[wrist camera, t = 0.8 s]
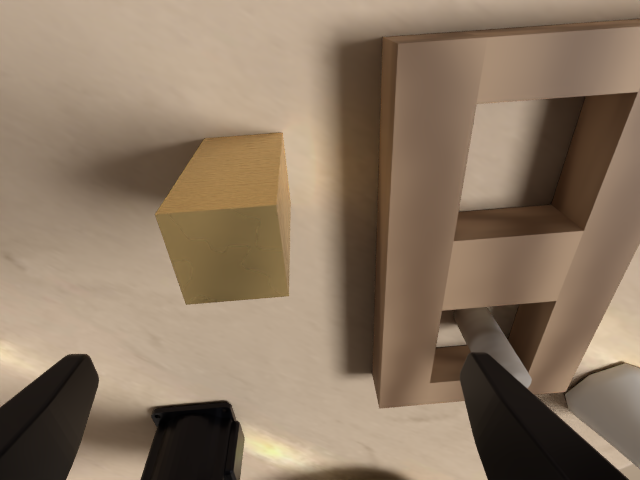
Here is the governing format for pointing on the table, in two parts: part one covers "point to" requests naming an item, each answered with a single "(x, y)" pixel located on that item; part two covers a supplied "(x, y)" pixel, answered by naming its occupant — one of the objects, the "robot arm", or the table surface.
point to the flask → (611, 407)
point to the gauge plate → (507, 223)
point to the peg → (230, 220)
